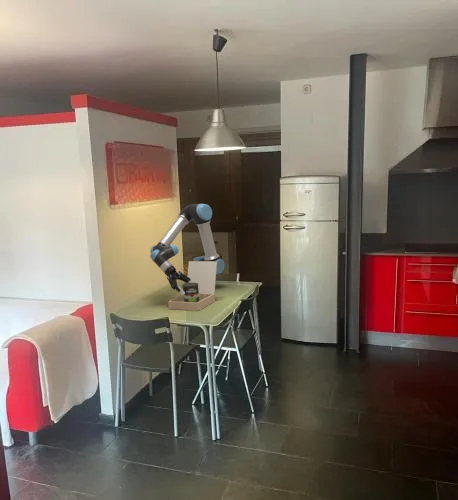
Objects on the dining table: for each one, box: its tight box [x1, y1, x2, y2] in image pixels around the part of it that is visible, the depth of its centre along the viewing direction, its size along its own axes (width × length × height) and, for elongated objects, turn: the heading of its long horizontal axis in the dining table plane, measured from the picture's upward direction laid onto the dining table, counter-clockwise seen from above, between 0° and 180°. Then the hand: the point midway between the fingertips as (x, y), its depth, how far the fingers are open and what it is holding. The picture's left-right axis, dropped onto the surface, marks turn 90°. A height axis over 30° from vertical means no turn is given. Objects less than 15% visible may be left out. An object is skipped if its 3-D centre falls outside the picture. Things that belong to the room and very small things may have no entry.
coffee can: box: [182, 282, 199, 303], centre depth 296 cm, size 10×10×14 cm
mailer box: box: [167, 260, 217, 312], centre depth 298 cm, size 30×22×26 cm
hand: (189, 292), depth 295 cm, fingers open, 13 cm apart
